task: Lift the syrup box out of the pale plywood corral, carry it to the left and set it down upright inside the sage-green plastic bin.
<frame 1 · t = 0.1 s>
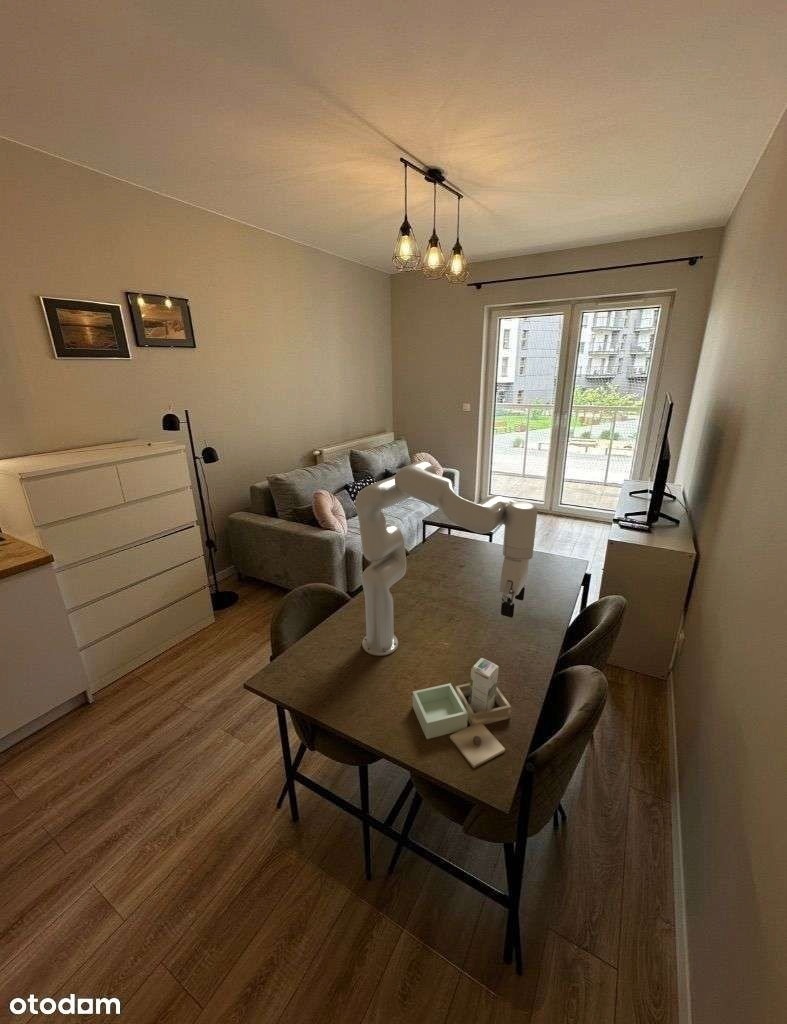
hand: (512, 607, 113), 31 cm above the table, tool pointing down, fingers open, 9 cm apart
lid: (476, 744, 108), on the table
syrup box: (481, 707, 120), resting in corral
bin b: (438, 717, 117), on the table
corral: (481, 707, 120), on the table
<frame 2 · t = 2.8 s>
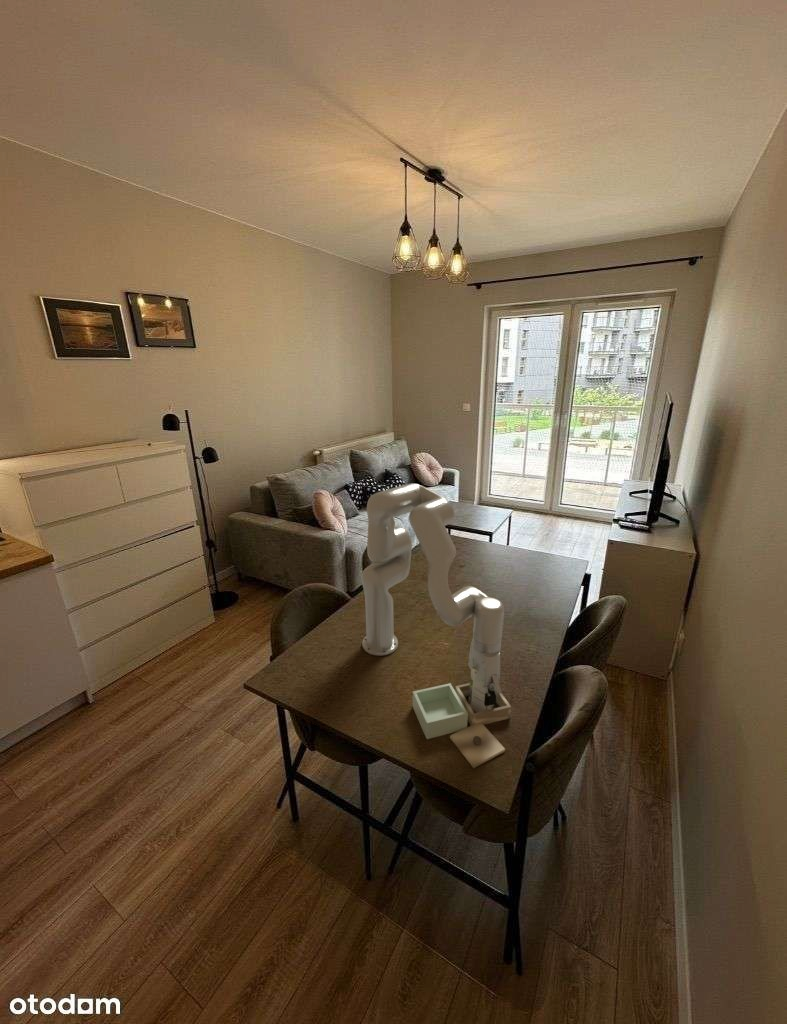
hand: (482, 693, 118), 5 cm above the table, tool pointing down, fingers closed on syrup box, 7 cm apart
syrup box: (481, 707, 120), resting in corral, touching gripper
when the fingers open (7 cm above the table, at t = 9.3 s): syrup box drops 1 cm, resting on bin b.
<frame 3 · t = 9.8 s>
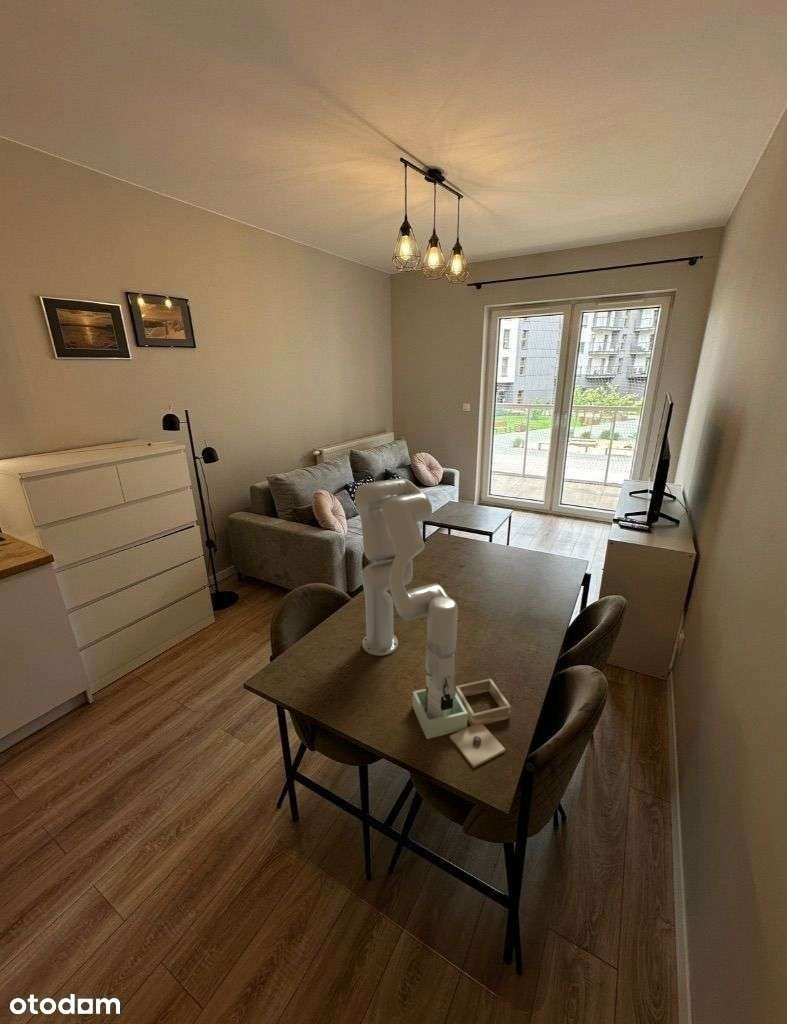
hand: (439, 695, 114), 8 cm above the table, tool pointing down, fingers open, 9 cm apart
syrup box: (438, 715, 116), point 1 cm above the table, touching bin b
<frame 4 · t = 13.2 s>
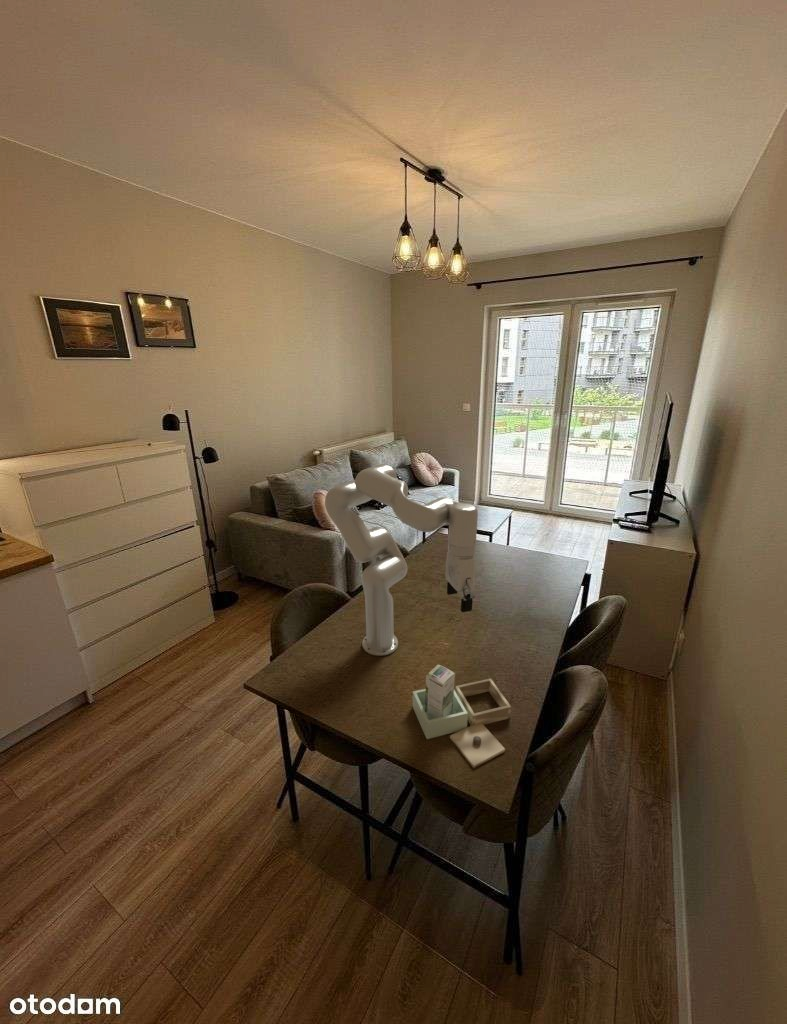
hand: (458, 602, 121), 28 cm above the table, tool pointing down, fingers open, 9 cm apart
nothing on the table moved.
at the end: syrup box inside the target area on the bin b (0.3 cm from its centre), point 0.8 cm above the bin b's base; syrup box tilted 0°; the gripper is holding nothing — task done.
